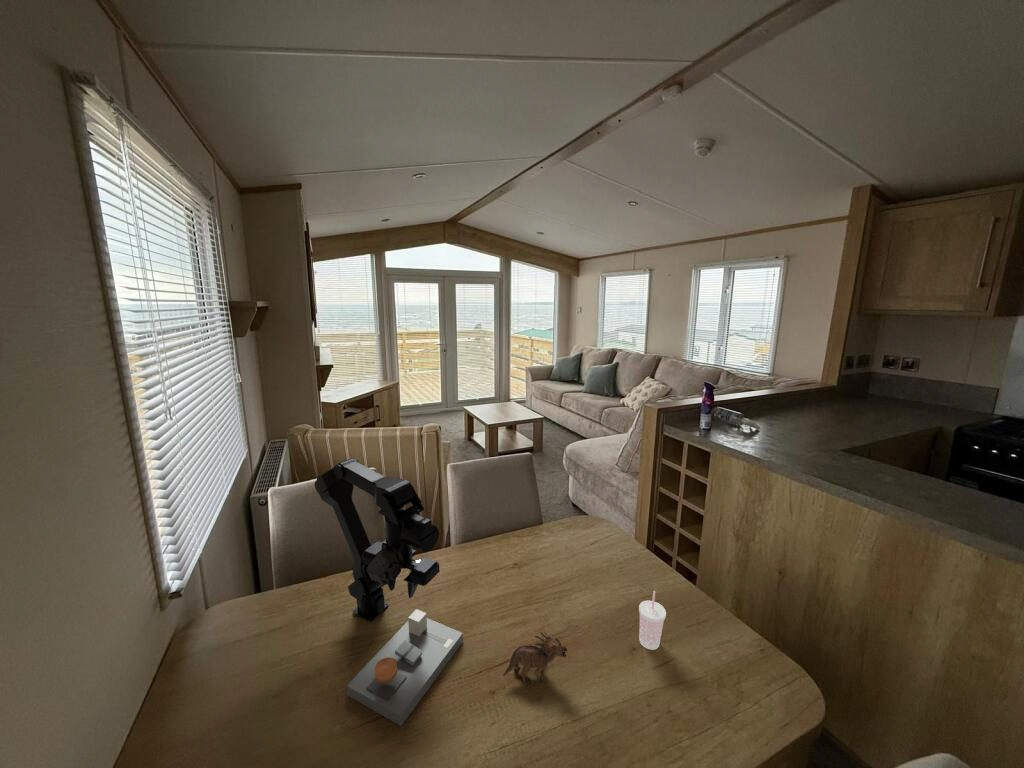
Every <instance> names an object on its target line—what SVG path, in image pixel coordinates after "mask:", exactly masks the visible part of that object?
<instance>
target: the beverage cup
mask: <svg viewBox="0 0 1024 768" xmlns="http://www.w3.org/2000/svg"><path fill="white" fill-rule="evenodd" d="M652 592H653V593H652V600H650V599H649V600H643V601H642V602H640V603H639V605H638V612H639V631H638V632H639V636H638V637H639V638H638V639H639V643H640V644H641V645H642V646H643V647H644V648H645V649H647V650H652V651H653V650H657V649H658V648H659V646H660V643H661V638H662V637H661V636H662V633H663V628H664V627H663V626H664V622H665V620H666V617H667V610H666V609H665V607H664V606H663V605H662V604H660V603H659V602H657V601H655V599H656V590H653V591H652Z"/></svg>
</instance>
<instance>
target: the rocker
mask: <svg viewBox="0 0 1024 768" xmlns="http://www.w3.org/2000/svg"><path fill="white" fill-rule="evenodd" d="M422 652H423V651H422V650H420V649H418V648H417V647H415V646H414V645H412V644H411V643H409V642H408V641H406V640H404V641H403V642H402V643H401V644H400V646H399V647H398V648H397V649H396V650H395V654H396V655H397V656H399V657H400V658H402V659H403V660H404V661H406V662H408V663H409V664H411V665H412V666H413V665H414V664H415V663H416V661H417V660H418V659H419V658H420V657H421V655H422Z"/></svg>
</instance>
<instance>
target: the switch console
mask: <svg viewBox="0 0 1024 768" xmlns="http://www.w3.org/2000/svg"><path fill="white" fill-rule="evenodd" d="M463 637H464V634H463V632H461V631H459V630H456V629H454V628H452V627H450V626H447V625H445V624H442V623H440V622H437V621H435V620H433V619H431V618H428V617H427V628H426V629H425V630H424V632H423V633H422V634H421V635H420V636H417V635H415V634H412V633H410V632H409V623H408V620H407V621H406V622H405V624H403V625H402V626H401V628H400V629H399V630H398V631H397V632H396V633H395V634H394V635H393V636H392V637H391V638H390V639H389V640H388V641H387V642H386V643H385V645H383V647H382V648H381V649H380V650H379V651H378V652H377V653H376V654H375V655H374V656H373V657H372V658H371V659H370V660H369V662H368V663H367V664H366V665H365V666H363V668H361V670H360V671H359V672H358V673H357V674H356V675H355V676H354V677H353V678H352V680H350V682H349V683H347V685H346V693H347V696H348V697H350V698H351V699H353V700H354V701H356V702H358V703H360V704H362V705H364V706H365V707H367V709H371V710H372V711H374V712H375V713H377V714H379V715H381V716H382V717H385V718H386V719H388V720H389V721H392V722H393V723H394V724H397V725H398V726H400V727H402V726H403V724H404V723H405V722H406V720H407V719H408V717H409V716H410V715H411V713H412V712H413V711H414V709H415V708H416V707H417V705H418V704H419V703H420V701H421V700H422V698H424V696H425V694H426V693H427V692H428V690H429V689H430V687H431V686H432V685H433V684H434V682H436V679H437V678H438V676H439V675H440V674H441V672H442V671H443V669H444V668H445V667H446V666H447V664H448V663H449V661H450V660H451V659H452V658H453V656H454V655H455V653H456V651H458V649H459V648H460V646H462V644H463V642H464V639H463ZM404 640H406V641H408V642H409V643H411V644H412V645H414V646H415V647H417V648H418V649H420V650H422V651H423V652H422V655H421V657H420V658H419V659H418V660H417V661H416V663H415V664H414V665H413V666H412V665H411V664H409V663H408V662H406V661H404V660H403V659H402V658H400V657H399V656H397V655H396V654H395V650H396V649H397V648H398V647H399V646H400V644H401V643H402V642H403V641H404ZM387 657H390V658H393V659H395V660H396V662H397V674H396V676H395V677H394V679H392V680H391V681H389V682H387V683H380V682H378V681H377V680H376V679H375V671H374V668H375V665H376V664H377V662H378V661H380V660H381V659H383V658H387Z"/></svg>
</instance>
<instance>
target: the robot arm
mask: <svg viewBox="0 0 1024 768" xmlns="http://www.w3.org/2000/svg"><path fill="white" fill-rule="evenodd" d="M354 486H355V487H357V488H358V489H361V491H364V492H366V493H367V494H369V495H370V496H372V497H373V499H374V501H375V502H374V503H375V505H376V506H377V507H378V508H379V509H380V510H378V513H379V515H381V516H383V517H384V528H385V529H384V530H385V540H383V541H375V542H374V543H373V544H371V541H370V539H369V537H368V534H367V532H366V529H365V527H364V524H363V522H362V520H361V517H360V515H359V512H358V509H357V507H356V506H355V503H354V500H353V492H354V488H355V487H354ZM314 488H315V489H314V490H315V491H316V492H317V493H318V495H319V497H320V499H321V500H322V502H324V503H326V505H329V506H330V507H331V508H332V509H333V511H334V513H335V516H336V518H337V521H338V523H339V526H340V528H341V530H342V533H343V536H344V538H345V540H346V543H347V545H348V548H349V550H350V553H351V555H352V558H353V560H354V561H353V568H352V576H353V580H354V581H353V582H352V583H350V584H349V585H348V586H347V588H348V593H349V595H350V596H351V597H352V598H354V599H356V605H357V607H355V608H354V610H352V614H353V615H355V616H357V617H360V618H362V619H364V620H366V621H368V622H373V621H374V620H375V619H376V618H377V617H378V616H379V615H380V614H381V613H382V612H383V611H385V609H387V608H388V607H389V603H388V602H386V601H385V595H384V589H383V587H384V586H386V585H387V586H388V589H389V591H393V590H395V588H396V583H397V582H396V581H397V580H396V579H397V578H398V576H399V575H400V574H401V572H402V570H406V569H407V570H409V573H408V575H407V576H406V577H405V578H403V582H406V583H407V593H408V598H409V599H412V597H414V595H415V592H416V591H417V589H418V586H422V587H424V586H427V585H428V584H429V583H430V582H431V581H432V580H433V579H434V578H435V577H436V576H437V575H438V574H439V573H440V562H438V561H437V560H433V559H430V558H428V557H426V556H425V557H423V558H422V559H418V560H415V559H413V557H414V556H415V555H416V554H417V551H416V549H418V550H419V551H422V552H423V553H426V552H430V551H432V549H433V548H434V547H435V546H436V544H437V542H438V540H439V538H440V537H439V536H440V531H439V528H438V527H437V525H434V524H432V523H433V522H432V519H429V518H427V517H423V516H421V515H420V513H422V512H423V511H425V508H424V506H423V503H422V502H423V501H422V500H421V498H420V496H419V495H418V494H417V491H416V490H415V488H414V486H413V485H412V483H411V482H409V481H408V479H407V480H406V479H404V478H403V479H402V478H401V477H387V476H383V474H380V473H378V472H376V471H374V470H373V469H370V468H369V467H367V466H365V465H364V464H361V463H360V462H359V461H358V460H357V459H356V458H348V459H345V460H344V461H341V462H338V463H337V464H336V465H335V464H334V466H333V467H332V468H331V469H329V470H327V471H326V472H323V473H322V474H319V475H317V477H316V480H315V482H314ZM410 504H412V505H411V506H410V507H408V508H406V509H405V507H407V506H409V505H410ZM413 548H415V549H413Z"/></svg>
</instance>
